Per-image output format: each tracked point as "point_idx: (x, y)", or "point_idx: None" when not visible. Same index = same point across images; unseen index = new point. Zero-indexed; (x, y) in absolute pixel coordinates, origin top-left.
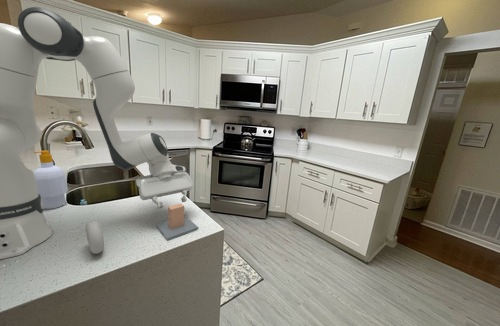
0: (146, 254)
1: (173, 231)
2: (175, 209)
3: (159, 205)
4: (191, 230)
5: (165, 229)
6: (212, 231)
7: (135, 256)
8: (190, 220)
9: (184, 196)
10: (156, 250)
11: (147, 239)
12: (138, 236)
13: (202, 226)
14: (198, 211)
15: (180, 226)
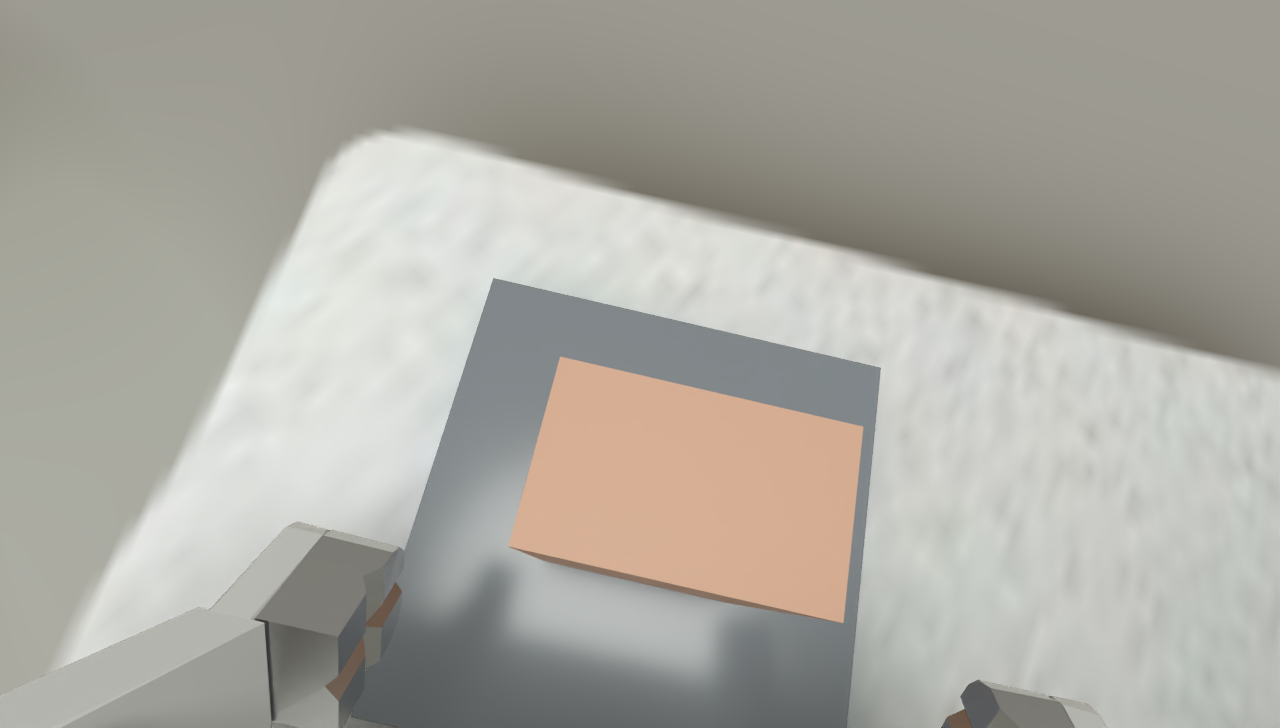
0: (1100, 352)
1: None
2: (759, 413)
3: (1084, 723)
4: (588, 303)
5: None
6: (431, 155)
7: (1185, 401)
8: (430, 481)
9: (255, 618)
10: (1011, 333)
11: (1016, 571)
12: None
13: (415, 302)
14: None
15: None
